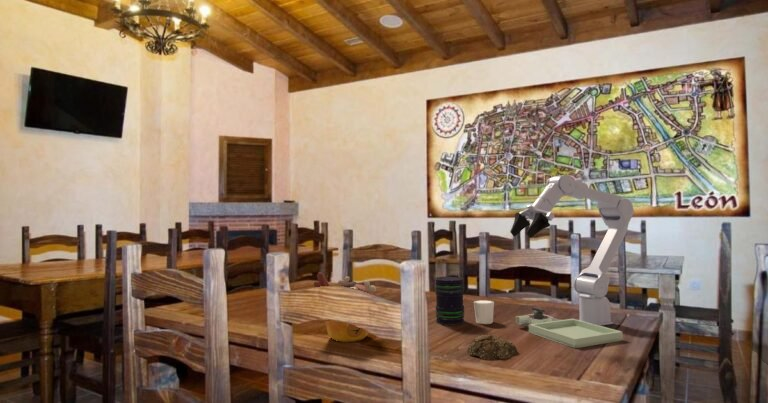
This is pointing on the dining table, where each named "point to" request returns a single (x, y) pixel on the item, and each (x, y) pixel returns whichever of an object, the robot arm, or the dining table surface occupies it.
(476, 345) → the brown lumpy mound
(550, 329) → the tray
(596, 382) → the dining table surface
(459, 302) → the storage jar
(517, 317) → the ring
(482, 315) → the shot glass
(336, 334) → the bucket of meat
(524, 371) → the dining table surface
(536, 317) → the base
